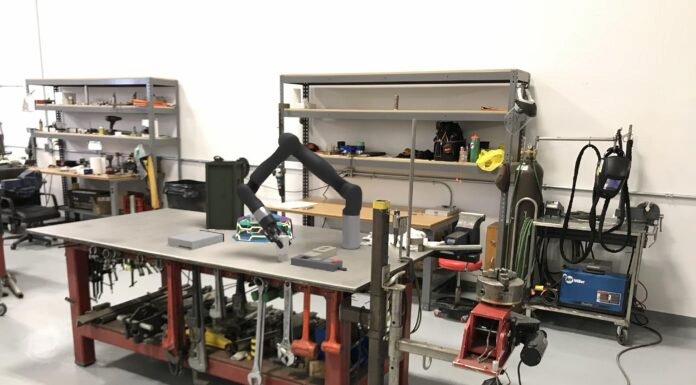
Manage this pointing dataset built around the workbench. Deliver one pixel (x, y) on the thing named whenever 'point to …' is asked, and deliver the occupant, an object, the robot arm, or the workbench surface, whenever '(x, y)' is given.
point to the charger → (285, 249)
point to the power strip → (317, 262)
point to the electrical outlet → (322, 252)
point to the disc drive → (196, 239)
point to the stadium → (259, 229)
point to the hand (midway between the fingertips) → (286, 246)
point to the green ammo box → (223, 194)
